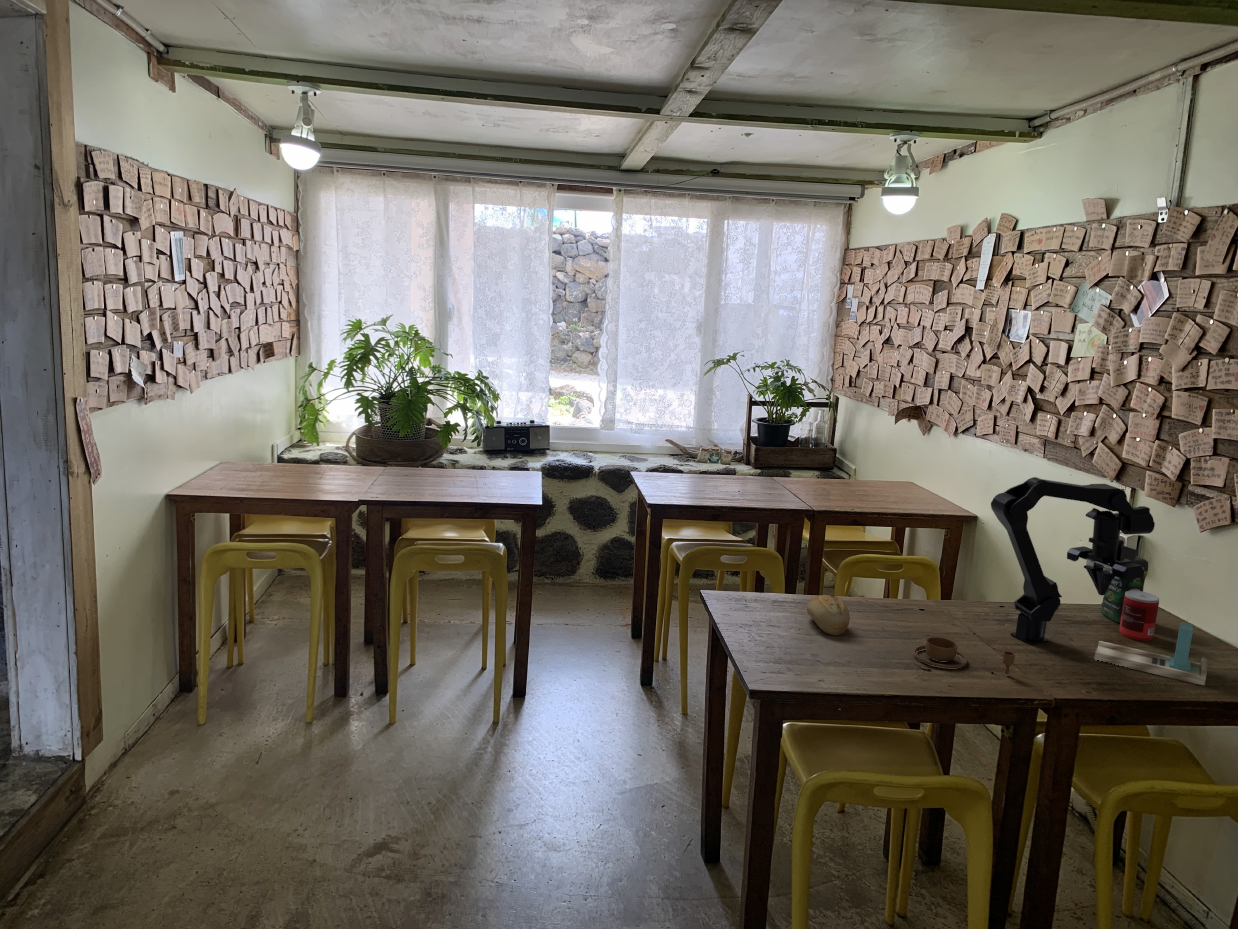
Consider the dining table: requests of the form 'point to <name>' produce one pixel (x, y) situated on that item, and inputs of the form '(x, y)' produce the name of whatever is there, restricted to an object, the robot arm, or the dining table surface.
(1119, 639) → the dining table surface
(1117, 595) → the coffee jar
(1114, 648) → the box
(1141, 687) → the dining table surface
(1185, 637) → the slider
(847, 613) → the bread roll
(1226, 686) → the dining table surface
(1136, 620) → the canned food
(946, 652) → the place setting
